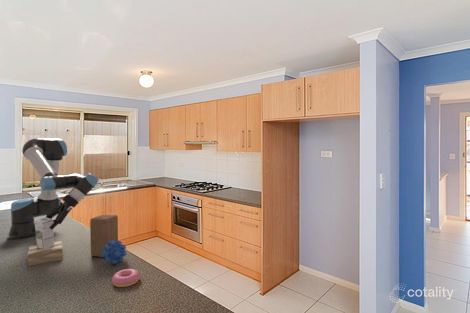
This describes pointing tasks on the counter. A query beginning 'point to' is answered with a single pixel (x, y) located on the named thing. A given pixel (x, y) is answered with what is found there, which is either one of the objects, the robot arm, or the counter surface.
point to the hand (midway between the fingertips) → (41, 231)
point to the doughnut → (125, 277)
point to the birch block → (45, 254)
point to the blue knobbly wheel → (114, 252)
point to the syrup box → (42, 239)
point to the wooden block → (103, 232)
